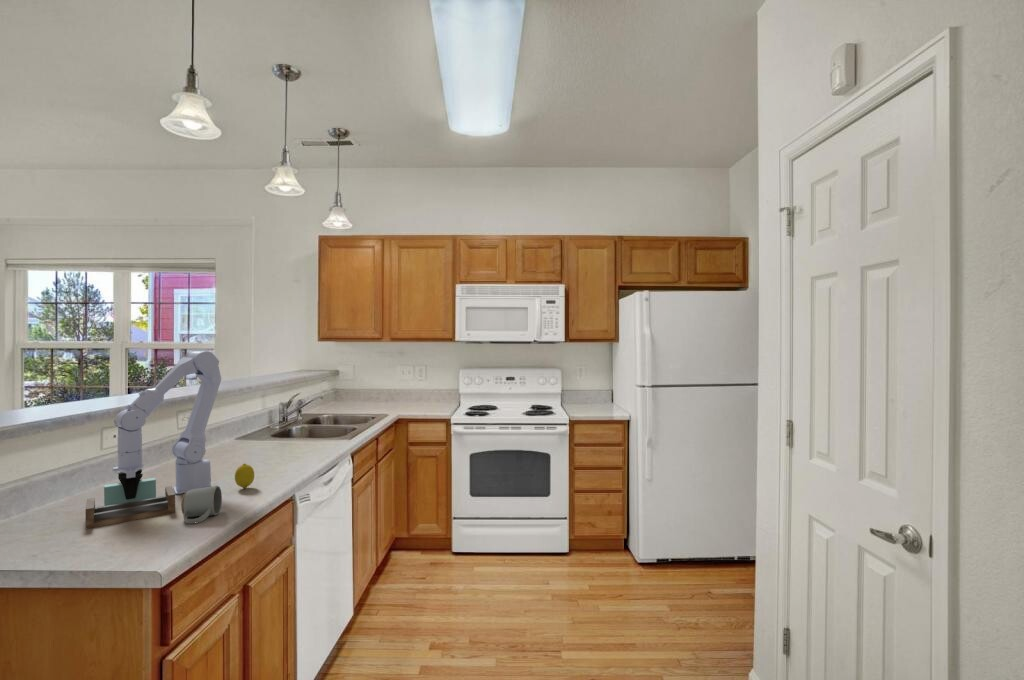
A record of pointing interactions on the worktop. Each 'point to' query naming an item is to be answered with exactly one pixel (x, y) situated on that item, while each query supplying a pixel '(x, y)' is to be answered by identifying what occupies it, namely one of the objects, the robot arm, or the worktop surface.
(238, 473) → the lemon
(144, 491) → the long teal rectangular block
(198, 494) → the ceramic mug
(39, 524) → the worktop surface
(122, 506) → the track board
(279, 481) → the worktop surface
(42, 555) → the worktop surface
